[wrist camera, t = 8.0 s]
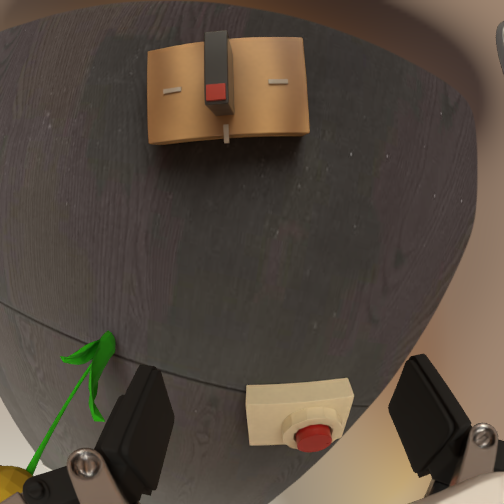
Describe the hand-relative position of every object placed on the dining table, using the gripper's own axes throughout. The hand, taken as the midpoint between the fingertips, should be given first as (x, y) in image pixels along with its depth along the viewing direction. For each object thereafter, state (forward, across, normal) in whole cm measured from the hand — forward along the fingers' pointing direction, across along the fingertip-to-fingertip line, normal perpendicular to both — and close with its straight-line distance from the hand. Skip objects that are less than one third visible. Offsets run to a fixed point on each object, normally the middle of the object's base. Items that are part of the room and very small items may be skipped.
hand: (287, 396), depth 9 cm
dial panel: (+16, +3, -14) cm, 22 cm away
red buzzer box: (+17, -4, +20) cm, 27 cm away
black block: (+13, +3, -14) cm, 20 cm away
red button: (+12, -5, +20) cm, 24 cm away
